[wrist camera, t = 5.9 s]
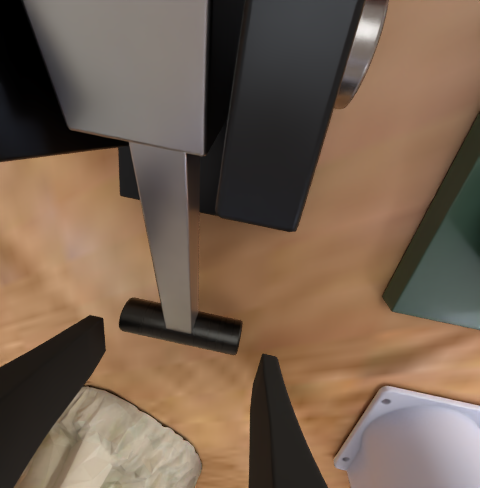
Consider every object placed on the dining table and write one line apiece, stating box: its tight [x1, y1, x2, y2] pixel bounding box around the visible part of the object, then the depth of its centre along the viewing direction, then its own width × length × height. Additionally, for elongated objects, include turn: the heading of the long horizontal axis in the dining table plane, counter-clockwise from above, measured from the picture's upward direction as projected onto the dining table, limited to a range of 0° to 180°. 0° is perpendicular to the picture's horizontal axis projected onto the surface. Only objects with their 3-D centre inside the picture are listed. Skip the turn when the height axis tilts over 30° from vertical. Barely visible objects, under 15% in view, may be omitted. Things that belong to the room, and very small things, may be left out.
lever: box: [21, 0, 244, 355], centre depth 7 cm, size 12×5×2 cm, turn 171°
